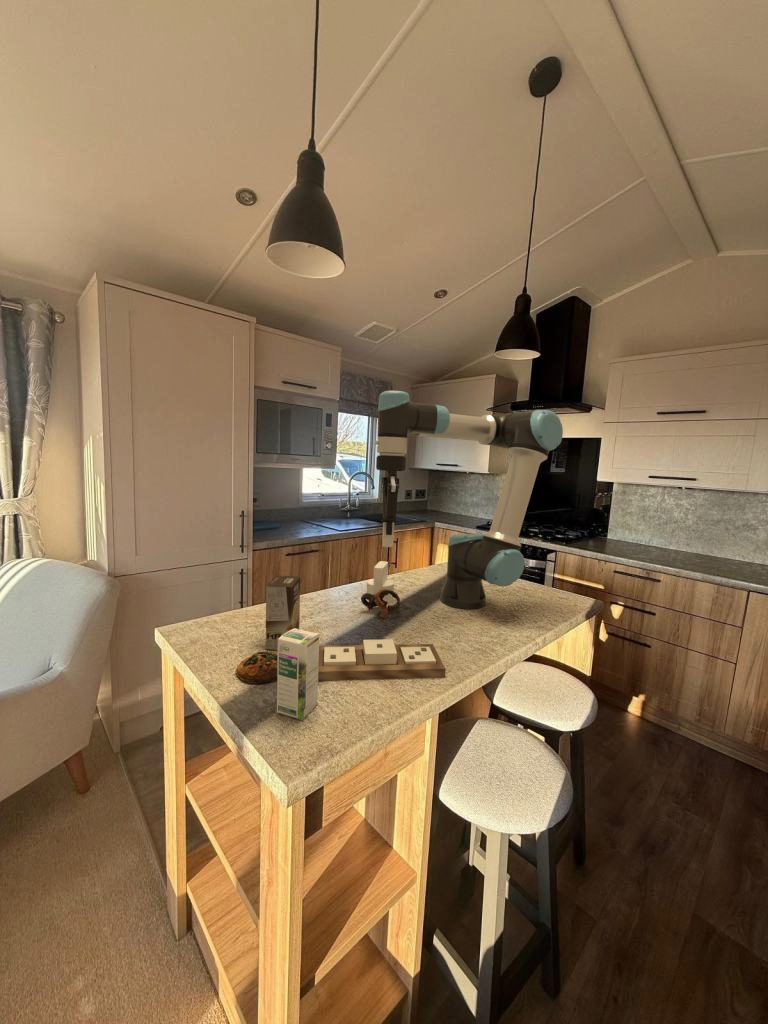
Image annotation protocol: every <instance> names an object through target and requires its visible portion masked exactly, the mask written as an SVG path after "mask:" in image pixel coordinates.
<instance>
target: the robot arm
mask: <svg viewBox="0 0 768 1024" xmlns="http://www.w3.org/2000/svg"><path fill="white" fill-rule="evenodd" d="M378 398H379V399H378V406H377V407H378V408H377V440H375V441H374V444H375V445H377V446H376V452H377V454H378V455H377V456H376V457H375V458H376V460H375V461H376V463H375V468H376V470H377V471H384V477H383V476H382V477H381V484H382V491H381V492H382V513H381V514H382V515H381V516H382V518H381V523H382V540H381V542H382V543H381V544H382V545H381V546H382V547H383V548H394V537H395V536H394V535H395V522H396V520H397V518H396V517H397V508H398V507H397V505H398V495H399V488H400V478H398V473H397V472H404V471H406V469H407V457H406V456H405V455H406V454H407V453H408V452H407V451H408V436H411V437H412V436H413V437H426V438H427V437H428V438H440V439H450V440H451V439H452V440H462V441H475V442H478V443H479V444H480V445H483V446H491V447H492V446H493V447H495V448H496V447H497V448H502V449H508V450H507V451H508V452H509V454H510V456H511V458H510V461H509V463H508V464H509V465H508V468H507V470H506V474H505V478H504V480H503V481H504V482H503V485H502V488H501V490H500V491H501V492H500V495H499V499H498V502H497V505H496V508H495V512H494V515H493V518H492V523H491V525H490V529H489V530H488V531H487V532H485V533H483V534H481V533H458V534H457V533H456V534H451V536H450V537H449V540H448V544H447V545H448V546H447V565H446V566H447V567H446V568H447V569H446V571H447V572H446V579H445V581H444V583H443V585H442V588H441V590H440V596H439V597H440V599H439V600H440V602H441V603H443V604H445V605H446V606H449V607H452V608H457V609H464V610H474V609H479V608H483V607H485V606H486V604H487V603H486V601H487V596H486V592H485V591H486V590H485V589H484V588H485V587H484V584H483V581H485V582H487V583H488V584H491V585H493V586H494V585H495V586H498V587H509V586H511V585H512V584H513V583H515V582H517V581H518V580H519V579H520V577H521V576H522V574H523V572H524V568H525V562H526V561H525V560H524V559H525V558H524V557H525V556H524V555H523V554H522V552H521V548H522V544H521V542H520V540H519V536H520V534H521V533H520V532H521V530H522V526H523V523H524V519H525V516H526V512H527V508H528V506H529V502H530V499H531V495H532V492H533V488H534V485H535V482H536V478H537V476H538V471H539V469H540V468H539V467H540V465H541V463H543V462H544V461H546V460H547V459H548V457H549V453H550V451H553V450H556V448H557V447H559V446H560V445H561V443H562V439H563V435H564V429H563V425H562V422H561V419H560V417H559V416H558V415H557V414H556V413H555V412H554V411H552V410H549V409H536V410H529V411H528V410H527V411H519V412H509V413H508V412H507V413H501V414H484V415H482V416H474V415H466V414H465V415H464V414H457V413H450V411H449V409H448V407H446V406H444V405H439V404H430V403H422V402H413V401H411V399H410V395H409V393H408V392H406V391H402V390H385V391H383V392H381V393H380V394H379V397H378Z"/></svg>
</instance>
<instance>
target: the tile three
mask: <svg viewBox="0 0 768 1024" xmlns="http://www.w3.org/2000/svg"><path fill="white" fill-rule="evenodd" d="M400 653H401V656H402V659H403V662H404V665H405V664H436V660H435V657H434V655H433V653H432V651H431V649H430V647H401V648H400Z"/></svg>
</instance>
